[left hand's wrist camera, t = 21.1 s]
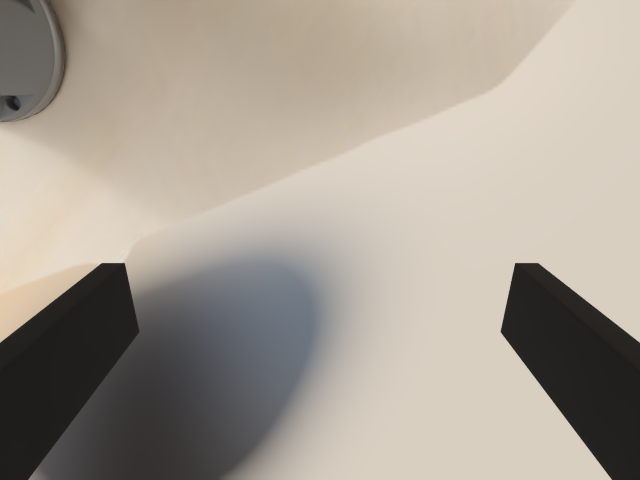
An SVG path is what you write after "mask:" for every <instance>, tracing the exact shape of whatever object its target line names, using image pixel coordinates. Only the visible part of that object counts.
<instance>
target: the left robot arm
mask: <svg viewBox="0 0 640 480" xmlns="http://www.w3.org/2000/svg"><path fill="white" fill-rule="evenodd" d="M64 65H65V50H64V42H63V36H62V32H61V29H60V25H59V22H58V20H57V17H56V14H55V12H54V10H53V8H52V6H51V4H50V2H49V0H0V122H7V121H16V120H21V119H25V118H28V117H30V116H33V115H35V114H36V113H38V112H40V111H41V110H42V109H43V108H45V107H46V106H47V105H48V104H49V103H50V102H51V100H52V99H53V98H54V96H55V94H56V93H57V91H58V89H59V86H60V84H61V81H62V77H63V73H64ZM138 333H139V328H138V323H137V319H136V314H135V309H134V305H133V300H132V295H131V290H130V286H129V281H128V276H127V272H126V267H125V263H102V264H100V265H99V266H98V267H96V268H95V269H94V270H93V271H91V272H90V273H89V274H88V275H86V276H85V277H84V278H82V279H81V280H80V281H79V282H77V283H76V284H75V285H73V286H72V287H71V288H70V289H68V290H67V291H66V292H65V293H63V294H62V295H61V296H59V297H58V298H57V299H56V300H54V301H53V302H52V303H50V304H49V305H48V306H47V307H45V308H44V309H43V310H42V311H40V312H39V313H38V314H36V315H35V316H34V317H33V318H31V319H30V320H29V321H28V322H26V323H25V324H24V325H22V326H21V327H20V328H18V329H17V330H16V331H15V332H13V333H12V334H11V335H10V336H8V337H7V338H6V339H4V340H3V341H2V342H1V343H0V480H28V479H29V478H30V476H31V475H32V474H33V472H34V471H35V470H36V468H37V467H38V466H39V464H40V463H41V462H42V460H43V459H44V458H45V456H46V455H47V454H48V452H49V451H50V450H51V449H52V447H53V446H54V445H55V443H56V442H57V441H58V439H59V438H60V437H61V435H62V434H63V433H64V431H65V430H66V429H67V427H68V426H69V425H70V423H71V422H72V421H73V419H74V418H75V417H76V415H77V414H78V413H79V411H80V410H81V409H82V407H83V406H84V405H85V403H86V402H87V401H88V399H89V398H90V397H91V395H92V394H93V393H94V391H95V390H96V389H97V387H98V386H99V385H100V383H101V382H102V381H103V380H104V378H105V377H106V375H107V374H108V373H109V372H110V370H111V369H112V368H113V366H114V365H115V364H116V362H117V361H118V360H119V358H120V357H121V356H122V354H123V353H124V352H125V350H126V349H127V348H128V346H129V345H130V344H131V342H132V341H133V340H134V338H135V337H136V336H137V334H138ZM501 333H502V334H503V336H504V337H505V338H506V340H507V341H508V342H509V344H510V345H511V346H512V348H513V349H514V350H515V352H516V353H517V354H518V356H519V357H520V358H521V360H522V361H523V362H524V364H525V365H526V366H527V368H528V369H529V370H530V372H531V373H532V374H533V376H534V377H535V378H536V380H537V381H538V382H539V383H540V385H541V386H542V388H543V389H544V390H545V392H546V393H547V394H548V395H549V397H550V398H551V399H552V401H553V402H554V403H555V405H556V406H557V407H558V409H559V410H560V411H561V413H562V414H563V415H564V417H565V418H566V419H567V421H568V422H569V423H570V425H571V426H572V427H573V429H574V430H575V431H576V433H577V434H578V435H579V437H580V438H581V439H582V441H583V442H584V443H585V444H586V446H587V447H588V448H589V450H590V451H591V452H592V454H593V455H594V456H595V458H596V459H597V460H598V462H599V463H600V464H601V466H602V467H603V468H604V470H605V471H606V472H607V474H608V475H609V476H610V478H611V479H612V480H640V343H639V342H638V341H637V340H636V339H634V338H633V337H632V336H630V335H629V334H628V333H627V332H625V331H624V330H623V329H622V328H620V327H619V326H618V325H616V324H615V323H614V322H613V321H611V320H610V319H609V318H607V317H606V316H605V315H604V314H602V313H601V312H600V311H599V310H597V309H596V308H595V307H593V306H592V305H591V304H590V303H588V302H587V301H586V300H584V299H583V298H582V297H581V296H579V295H578V294H577V293H576V292H574V291H573V290H572V289H570V288H569V287H568V286H567V285H565V284H564V283H563V282H561V281H560V280H559V279H558V278H556V277H555V276H554V275H552V274H551V273H550V272H549V271H547V270H546V269H545V268H544V267H542V266H541V265H540V264H538V263H515V267H514V272H513V276H512V281H511V286H510V291H509V295H508V300H507V305H506V309H505V314H504V319H503V323H502V328H501Z"/></svg>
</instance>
